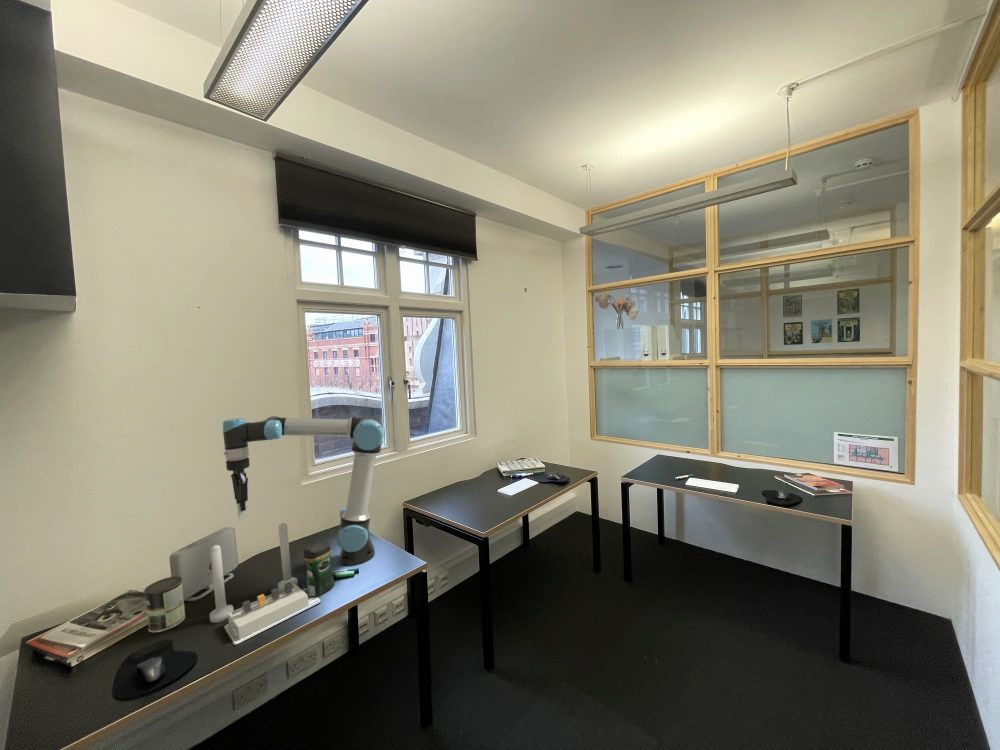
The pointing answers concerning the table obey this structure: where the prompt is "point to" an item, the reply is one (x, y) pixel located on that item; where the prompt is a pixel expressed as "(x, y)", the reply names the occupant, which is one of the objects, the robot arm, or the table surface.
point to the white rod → (285, 558)
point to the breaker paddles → (262, 601)
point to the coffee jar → (318, 568)
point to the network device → (203, 562)
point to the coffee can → (164, 604)
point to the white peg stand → (218, 587)
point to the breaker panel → (267, 612)
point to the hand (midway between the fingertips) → (243, 518)
